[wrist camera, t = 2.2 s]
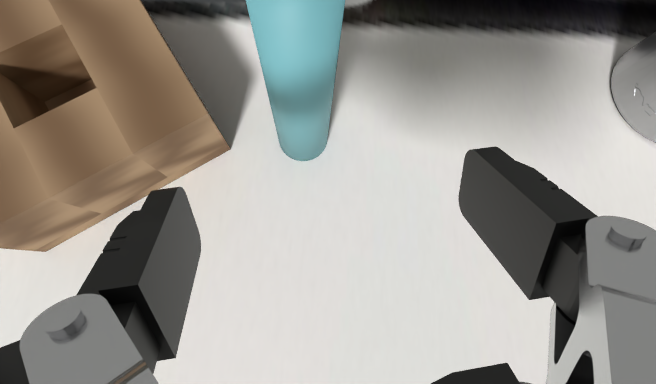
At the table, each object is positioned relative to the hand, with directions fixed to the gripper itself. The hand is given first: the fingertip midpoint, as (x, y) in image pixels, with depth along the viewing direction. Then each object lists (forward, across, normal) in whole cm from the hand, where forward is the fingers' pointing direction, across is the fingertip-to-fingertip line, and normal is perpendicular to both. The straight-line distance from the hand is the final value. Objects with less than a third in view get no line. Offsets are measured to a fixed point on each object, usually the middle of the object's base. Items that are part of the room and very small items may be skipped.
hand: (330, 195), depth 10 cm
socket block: (+18, +15, +3) cm, 24 cm away
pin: (+16, 0, +5) cm, 17 cm away
